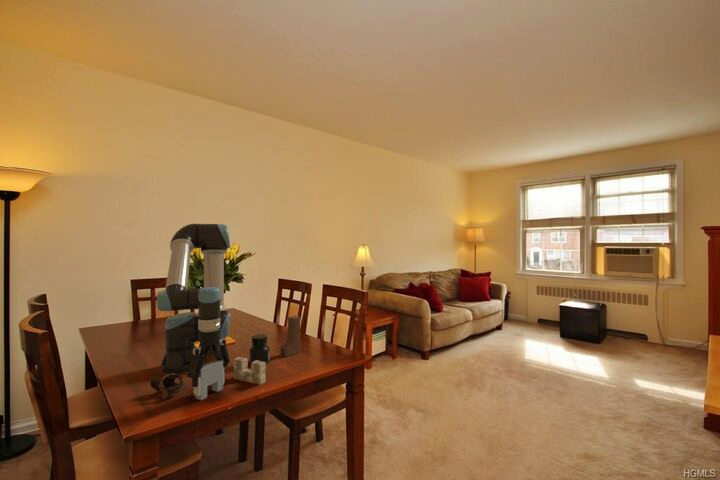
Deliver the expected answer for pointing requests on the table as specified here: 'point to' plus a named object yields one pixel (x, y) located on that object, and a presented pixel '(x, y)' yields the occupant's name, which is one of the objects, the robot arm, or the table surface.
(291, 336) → the wooden block
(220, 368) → the slotted plate
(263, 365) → the slotted board
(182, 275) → the robot arm
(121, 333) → the table surface
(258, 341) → the ink bottle
